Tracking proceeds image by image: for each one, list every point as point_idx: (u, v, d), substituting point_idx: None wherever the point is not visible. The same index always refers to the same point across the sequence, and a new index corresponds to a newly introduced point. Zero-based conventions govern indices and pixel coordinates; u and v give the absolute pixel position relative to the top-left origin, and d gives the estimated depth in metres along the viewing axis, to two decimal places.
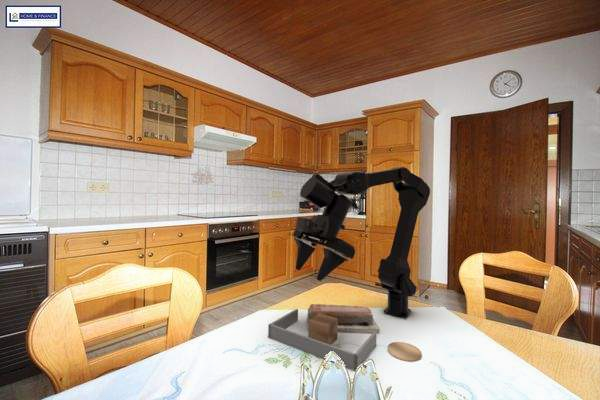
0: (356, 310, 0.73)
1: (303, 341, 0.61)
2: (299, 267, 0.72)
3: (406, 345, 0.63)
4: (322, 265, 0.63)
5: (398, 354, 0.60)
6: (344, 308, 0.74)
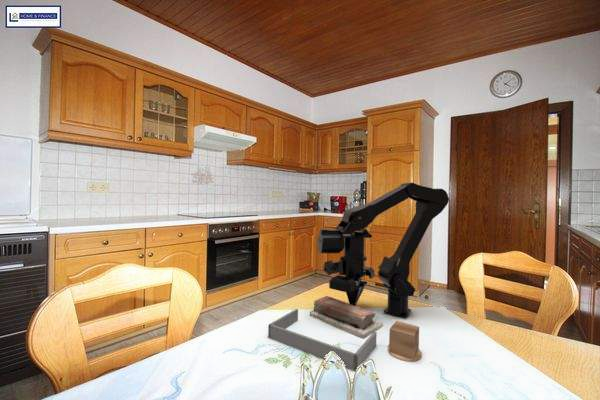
0: (353, 310, 0.73)
1: (303, 341, 0.61)
2: None
3: None
4: None
5: None
6: (345, 306, 0.76)
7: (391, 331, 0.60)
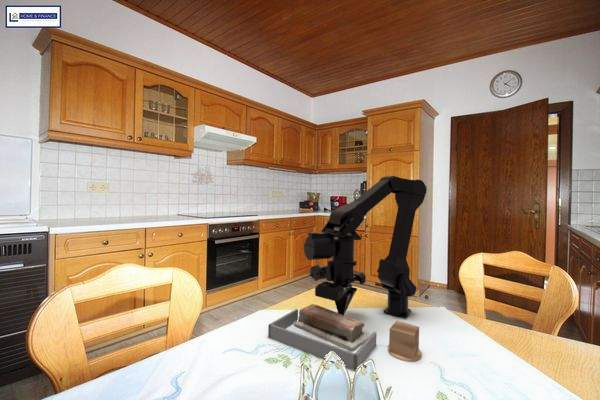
0: (341, 321, 0.67)
1: (303, 341, 0.61)
2: None
3: None
4: None
5: None
6: (332, 316, 0.70)
7: (391, 331, 0.60)
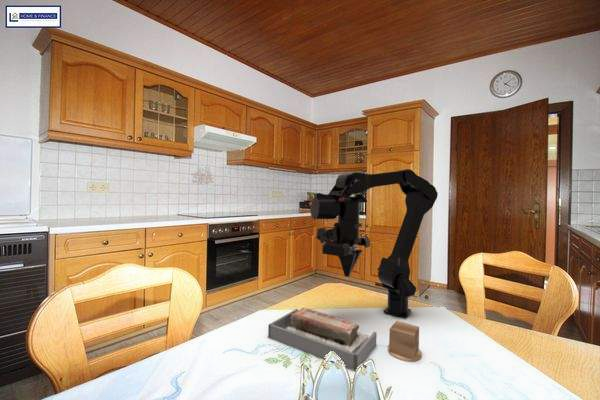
0: (337, 324, 0.65)
1: (303, 341, 0.61)
2: None
3: None
4: None
5: None
6: (327, 319, 0.67)
7: (391, 331, 0.60)
